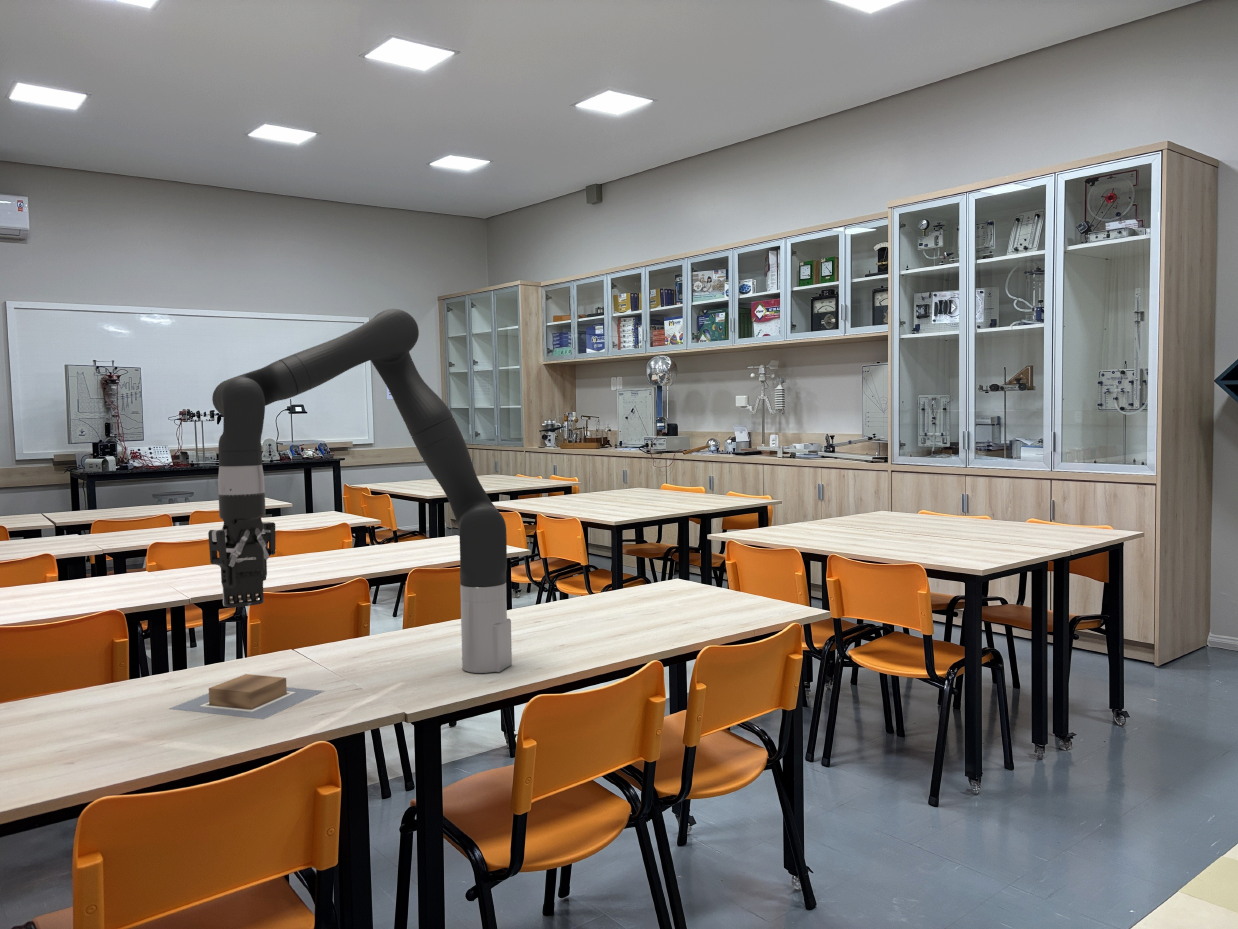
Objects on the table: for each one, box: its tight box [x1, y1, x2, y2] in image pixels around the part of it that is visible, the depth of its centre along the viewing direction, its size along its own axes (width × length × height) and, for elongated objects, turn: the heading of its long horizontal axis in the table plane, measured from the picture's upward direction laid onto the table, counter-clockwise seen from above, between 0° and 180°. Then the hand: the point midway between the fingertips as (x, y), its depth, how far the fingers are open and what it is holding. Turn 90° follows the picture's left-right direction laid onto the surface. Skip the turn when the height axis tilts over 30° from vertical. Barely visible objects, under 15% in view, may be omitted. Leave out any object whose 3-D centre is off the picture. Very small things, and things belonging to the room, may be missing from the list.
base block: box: [208, 673, 288, 709], centre depth 155 cm, size 9×9×3 cm
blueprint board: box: [168, 686, 325, 720], centre depth 155 cm, size 20×16×1 cm
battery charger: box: [221, 542, 265, 608], centre depth 154 cm, size 7×4×11 cm, turn 122°
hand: (245, 584), depth 154 cm, fingers closed on battery charger, 7 cm apart
